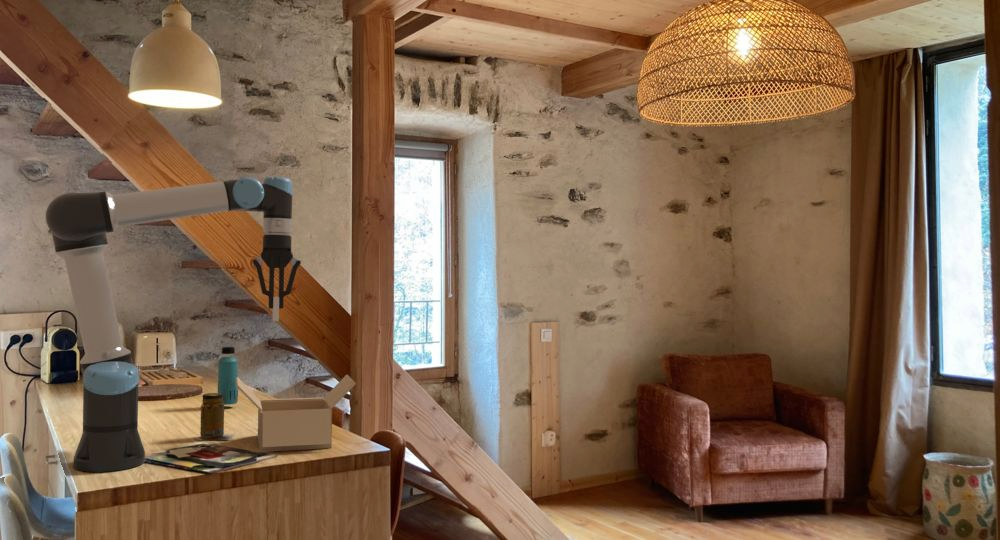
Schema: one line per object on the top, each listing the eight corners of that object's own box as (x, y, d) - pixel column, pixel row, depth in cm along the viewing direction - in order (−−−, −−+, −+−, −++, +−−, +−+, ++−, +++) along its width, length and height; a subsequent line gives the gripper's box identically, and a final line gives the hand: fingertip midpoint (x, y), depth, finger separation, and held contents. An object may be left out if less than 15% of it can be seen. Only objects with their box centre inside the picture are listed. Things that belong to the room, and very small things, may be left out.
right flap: (330, 407, 205) (354, 382, 207) (323, 397, 220) (346, 374, 222) (331, 408, 206) (356, 383, 208) (325, 398, 220) (348, 375, 222)
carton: (259, 451, 199) (260, 412, 199) (257, 438, 214) (258, 401, 214) (331, 448, 205) (332, 410, 205) (324, 434, 220) (325, 399, 220)
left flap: (260, 411, 200) (236, 386, 198) (258, 401, 214) (235, 377, 212) (262, 410, 200) (237, 385, 198) (260, 399, 214) (237, 376, 212)
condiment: (202, 435, 217) (203, 392, 217) (234, 435, 218) (235, 392, 218) (195, 441, 210) (196, 396, 209) (227, 441, 210) (228, 396, 210)
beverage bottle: (229, 410, 253) (230, 348, 253) (212, 408, 255) (213, 347, 255) (242, 406, 259) (243, 346, 259) (225, 405, 261) (226, 345, 261)
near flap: (262, 411, 199) (262, 447, 196) (262, 411, 199) (262, 447, 196) (330, 408, 205) (331, 443, 202) (330, 408, 204) (331, 443, 202)
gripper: (252, 233, 208) (250, 321, 208) (303, 234, 212) (301, 321, 212) (251, 234, 215) (250, 319, 215) (300, 235, 219) (299, 319, 219)
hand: (275, 320), depth 214 cm, fingers closed
